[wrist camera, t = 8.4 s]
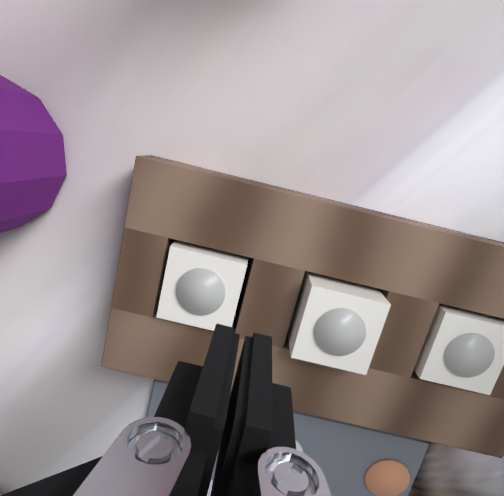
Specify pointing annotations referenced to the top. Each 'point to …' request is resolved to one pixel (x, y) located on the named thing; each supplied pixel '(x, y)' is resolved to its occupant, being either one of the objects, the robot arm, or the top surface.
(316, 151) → the top surface
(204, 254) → the button
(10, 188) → the mug
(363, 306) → the middle button
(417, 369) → the button
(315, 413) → the button board
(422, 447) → the pattern card
